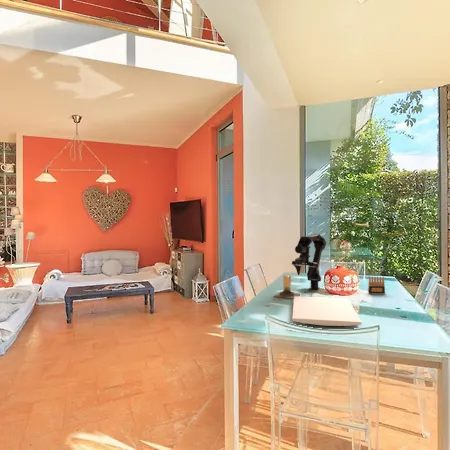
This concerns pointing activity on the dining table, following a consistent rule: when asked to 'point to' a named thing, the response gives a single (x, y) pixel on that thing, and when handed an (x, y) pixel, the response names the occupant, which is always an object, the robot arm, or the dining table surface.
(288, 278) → the brass roller
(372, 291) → the ammunition clip
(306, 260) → the robot arm
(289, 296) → the collar plate
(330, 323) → the board
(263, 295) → the dining table surface
